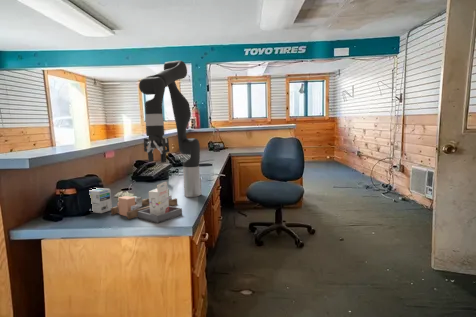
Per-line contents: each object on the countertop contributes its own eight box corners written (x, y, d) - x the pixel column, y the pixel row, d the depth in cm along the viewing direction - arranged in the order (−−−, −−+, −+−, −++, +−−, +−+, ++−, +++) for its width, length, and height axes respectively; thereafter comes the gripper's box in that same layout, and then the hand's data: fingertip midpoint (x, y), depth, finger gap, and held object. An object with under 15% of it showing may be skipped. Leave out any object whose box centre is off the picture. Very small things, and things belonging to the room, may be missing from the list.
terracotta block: (127, 212, 135) (126, 195, 135) (136, 214, 131) (134, 197, 130) (119, 214, 132) (118, 197, 131) (128, 216, 128) (127, 199, 127)
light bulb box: (112, 209, 140) (111, 188, 139) (101, 213, 134) (99, 191, 133) (97, 207, 144) (95, 187, 143) (85, 211, 138) (83, 189, 137)
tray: (162, 210, 137) (162, 204, 136) (182, 214, 129) (181, 208, 128) (138, 218, 126) (137, 211, 125) (157, 223, 118) (157, 216, 117)
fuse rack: (159, 200, 155) (159, 191, 155) (177, 204, 147) (176, 194, 146) (111, 214, 133) (110, 203, 132) (128, 219, 124) (128, 208, 124)
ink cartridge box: (160, 211, 132) (158, 180, 130) (169, 212, 131) (167, 181, 129) (149, 217, 124) (147, 184, 122) (159, 218, 122) (157, 184, 121)
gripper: (172, 124, 121) (174, 161, 123) (151, 125, 130) (153, 160, 132) (158, 124, 115) (160, 164, 117) (137, 125, 124) (140, 162, 125)
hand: (157, 162), depth 124 cm, fingers open, 8 cm apart
